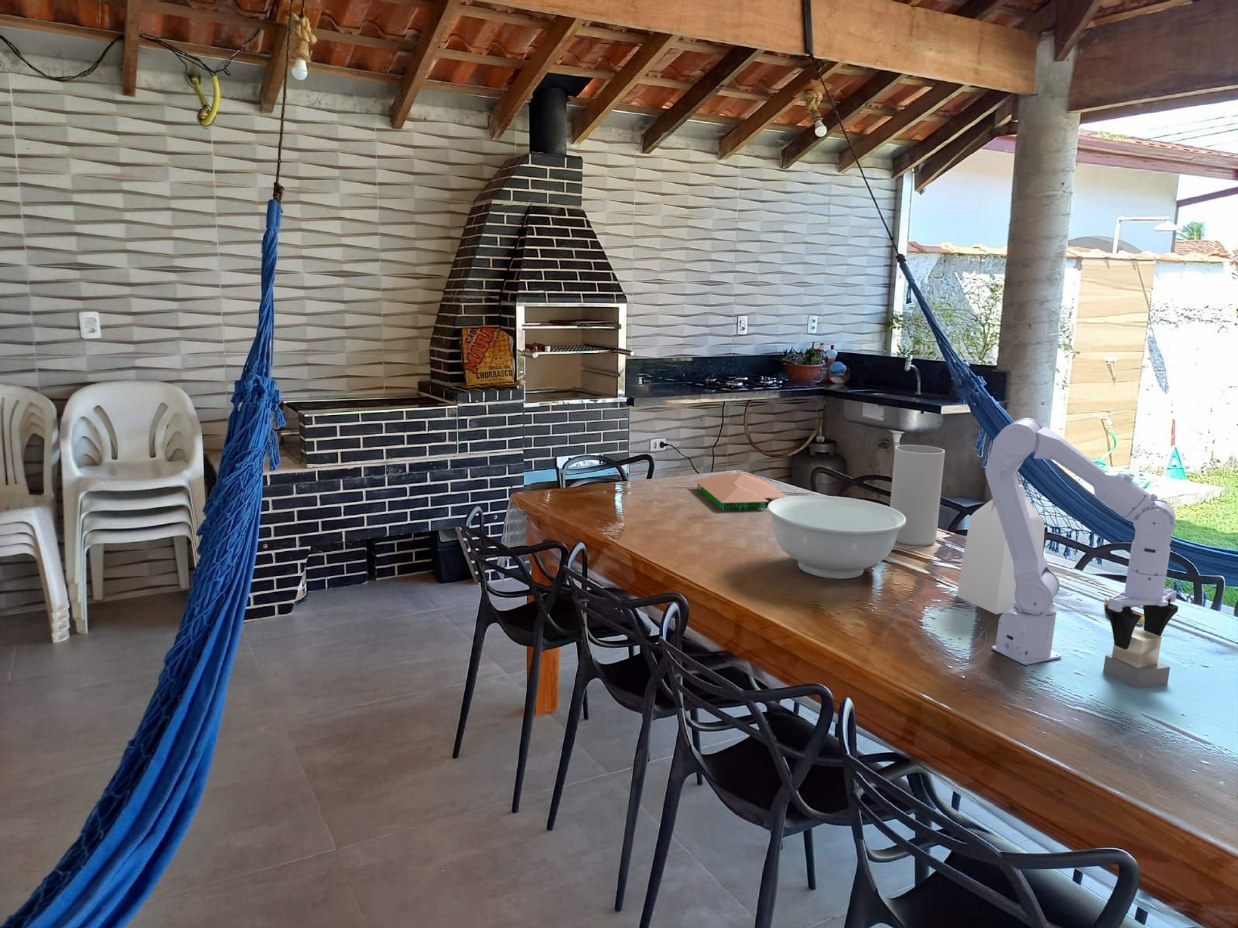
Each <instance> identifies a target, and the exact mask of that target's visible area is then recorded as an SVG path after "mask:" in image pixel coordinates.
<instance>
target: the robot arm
mask: <svg viewBox="0 0 1238 928" xmlns="http://www.w3.org/2000/svg"><path fill="white" fill-rule="evenodd" d="M1033 452H1034V453H1035V454H1034V456H1033V459H1036V460H1037V459H1038V460H1039V459H1040V460H1052V461H1055V462H1056V463H1057V464H1058V465H1060V466H1062V467H1064V468H1065V469H1066V470H1068V471H1069V472H1071V473H1072V474H1074V475H1075V476H1077V477H1078V478H1079V479H1081V480H1083V481H1084V482H1086V483H1087V484H1089V485H1090V486H1092V487H1093V493H1094V497H1095V498H1096V499H1097V500H1099V501H1100V502H1101V503H1103V504H1104V505H1105V506H1107V507H1108V508H1109V509H1111V510H1113V512H1115V513H1116V514H1117V515H1118V516H1120V517H1122V518H1123V519H1124V520H1126V521H1129V522H1132V524H1133V528H1134V530H1135V531H1134V538H1133V539H1134V540H1133V541H1132V542H1131V545H1130V553H1129V560H1128V567H1127V573H1126V580H1125V586H1124V588H1125V589H1124V590H1122V591H1121V592H1118V594H1116V595H1115V596H1111V597H1109V599H1108V601H1109V604H1106V605H1105V604H1104V611H1105V613H1106V615H1107V618H1109V619H1108V620H1109V622H1110V625H1111V630H1112V637H1113V645H1114V644H1115V646H1117V647H1120V648H1122V649H1128V647H1129V645H1130V641H1131V637H1132V633H1133V631H1134V628H1135V627H1137V625H1136V624H1137V622H1138V621H1139V619H1140V618H1141V617H1142V616H1140V615H1138V614H1135V613H1133V611H1132V610H1133V609H1132V608H1138V607H1142V608H1143V614H1144V622H1143V630H1145V631H1147V632H1150V633H1153V634H1155V635H1158V636H1160V637H1162V634H1163V632H1164V630H1165V628H1166V626H1167V625H1168V623H1169V622H1170V621H1171V619H1172V617H1174V615H1176V614H1177V613H1178V611H1179V606H1178V605H1176V604H1174V603H1175V602H1176V601H1177V600H1176V599H1177V591H1176V590H1173V589H1170V588H1168V587H1165V586H1166V579H1167V574H1168V567H1169V562H1170V561H1169V560H1170V555H1171V546H1170V545H1171V543H1172V536H1171V535H1172V534H1173V532H1174V531H1175V529H1176V526H1175V523H1176V513H1175V510H1174V509H1173V507H1172V506H1171V505H1170V504H1169V503H1168V502H1167V501H1166V500H1164V499H1161V498H1158V497H1159V496H1158V495H1156V494H1155V493H1151V494H1150V493H1148V492H1147V491H1146V490H1145V489H1144V488H1142V487H1141V486H1139V485H1137V484H1136V483H1135V482H1133V479H1134V477H1133V476H1132V475H1131V474H1129V473H1125V475H1124V474H1122V473H1121V472H1119V471H1114V472H1112V471H1111V472H1107V471H1105V470H1104V469H1102V467H1100V466H1099V465H1098V464H1096V463H1095V462H1094V461H1093V460H1092V459H1090V458H1089V457H1088V456H1086V455H1085V454H1084V453H1082V452H1081V451H1080V450H1078V449H1077V448H1076V447H1074V446H1073V445H1072V444H1071V443H1069V442H1068V441H1067V440H1066V439H1064V438H1063V437H1062V436H1060V435H1059V434H1058V433H1056V432H1055V431H1053V430H1052V429H1050V428H1049V427H1047V426H1042V424H1040V423H1039V422H1038V421H1037V420H1035V419H1032V418H1030V417H1022V418H1018V419H1016V420H1014V421H1013V422H1012V423H1011V424H1008V425H1006V426H1005V427H1004V428H1003V429H1001V431H1000V432H999V433H998V434H997V435H996V437H995V438H994V439H993V441H992V447H991V450H990V453H989V456H988V460H987V462H986V466H985V469H984V473H985V478H986V480H987V483H988V486H989V489H990V494H991V496H992V499H994V502H995V506H996V509H997V512H998V515H999V518H1000V521H1001V525H1002V528H1003V531H1004V534H1005V537H1006V540H1007V543H1008V547H1009V550H1010V553H1011V556H1012V559H1013V563H1014V579H1015V583H1016V589H1015V594H1014V596H1015V602H1014V605H1013V607H1012V609H1011V610H1010V611H1008V612H1005V613H1001V615H1000V616H999V620H998V623H997V624H998V625H997V633H996V634H997V635H996V640H995V645H992V646H991V649H992V650H994V651H995V652H997V653H1000V654H1002V655H1004V656H1006V657H1007V658H1009V659H1012V660H1013V661H1016V662H1018V663H1020V664H1022V665H1025V666H1027V665H1031V664H1037V663H1042V662H1046V661H1053V660H1056V659H1061V658H1062V657H1063V655H1062V654H1061V653H1058V652H1056V651H1054V650H1053V641H1054V634H1055V632H1054V631H1055V627H1056V626H1055V625H1056V618H1057V617H1056V616H1057V607H1056V606H1055V604H1054V598H1055V597H1056V595H1057V594H1059V590H1060V587H1061V586H1060V581H1059V577H1058V576H1057V575H1056V574H1055V573H1054V572H1053V571H1052V570H1051V568H1050V566H1049V564H1048V561H1047V559H1046V558H1045V556H1044V554H1043V555H1042V554H1041V551H1040V548H1039V545H1038V542H1037V539H1036V536H1035V532H1034V529H1033V526H1032V523H1031V520H1030V517H1029V514H1028V510H1027V507H1026V504H1025V501H1024V498H1023V495H1022V492H1021V488H1020V485H1021V484H1020V482H1019V480H1018V476H1017V472H1018V470H1019V469H1020V468H1021V466H1022V464H1024V461H1025V460H1026V458H1028V456H1030V455H1031V454H1032V453H1033ZM1131 609H1132V610H1131Z"/></svg>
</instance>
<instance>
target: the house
mask: <svg viewBox="0 0 1238 928" xmlns="http://www.w3.org/2000/svg"><path fill="white" fill-rule="evenodd" d="M694 481H695V482H696V483H697V489H696V490H699V492H700V493H701V494H703V495H704V496H705V497H706V498H707V499H709V500H710V501H711V502H712V503H714V504H715V505H716V507H718V508H720V510H722V511H723V512H725V511H726V512H727V510H728V509H727V508H728V507H730V504H732V507H731V510H730V511H731V512H733V511H732V510H733V509H732V508H733V507H735V508H738V509H736V511H738V510H739V511H743V510H742V509H743V508H744V511H748V509H749V505H750V507H752V509H751V510H752V511H753V510H754V508H753V503H754V506H755V507H759V508H762V505H763V510H764V511H766V504H763V503H770V500H769V499H773V500H772V501H774V500H776V499H780V498H784V497H789V495H787V494H785V493H783V492H782V491H780V490H778V489H777V488H775V487H774V486H772V485H771V484H769V483H767V482H766V481H764V480H763V479H761V478H758V477H756V476H752V475H748V474H745V473H742V472H734V473H721V474H715V475H710V476H709V475H708V477H705V478H701V479H695V480H694ZM727 504H728V505H727ZM725 508H726V509H725Z"/></svg>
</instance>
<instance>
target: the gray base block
mask: <svg viewBox="0 0 1238 928" xmlns="http://www.w3.org/2000/svg"><path fill="white" fill-rule="evenodd" d="M1104 656H1105V657H1104V663H1103V670H1102V672H1103V673H1105V674H1106V675H1109V676H1110V677H1113V679H1116V680H1118V681H1120V682H1122V683H1124V684H1126V685H1128V686H1131V688H1134V689H1136V690H1139V689H1144V688H1150V687H1151V688H1152V687H1156V686H1164V685H1168V684H1169V683H1168V682H1169V677H1170V671H1171V666H1169V665H1167V664H1166V663H1163V662H1160V661H1158V663H1157V664H1154V665H1150V666H1146V667H1141V668H1137V667H1134V666H1132V665H1130V664H1127V663H1125V662H1123V661H1121V660H1118V659H1116V658H1114V657H1112V653H1111V654H1105V655H1104Z"/></svg>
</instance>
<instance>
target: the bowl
mask: <svg viewBox="0 0 1238 928" xmlns="http://www.w3.org/2000/svg"><path fill="white" fill-rule="evenodd" d="M773 500H774V501H773ZM773 500H771V501H769V502H768V505H767V512H768V514H769V515H771V517H772V524H773V533H774V536H775V539H776V541H777V544H778V545H779V546H780V548H781V549H782V550H783V552H785V553H786V554H787V555H789V556H790V557H791V558H792V559H794V560H796V561H798V562H797V565H798V567H799V569H800V570H801V571H803V572H805V573H807V574H810V575H812V576H815V577H821V578H825V579H834V580H835V579H838V580H839V579H840V580H841V579H843V580H845V579H848V580H849V579H853V578H857V577H860V576H861V575H863V573H864V571H865V569H867V568H870V567H872V566H875V565H877V564H879V563H881V562H882V561H883V560H884V559H885V558H886V557H888V556H889V554H890V553H891V552H892V550H893V548H894V546H895V544H896V542H895V541H896V538H897V535H898V532H899V530H900V529H901V528H902V527H904V525H905V524H906V518H905V516H904V515H903V514H902V513H901V512H899V511H897V510H895V509H893V508H891V507H890V506H888V505H885V504H881V503H878V502H873V501H869V500H865V499H858V498H851V497H843V496H834V495H833V496H831V495H793V496H788V497H784V498H779V499H773Z"/></svg>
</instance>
